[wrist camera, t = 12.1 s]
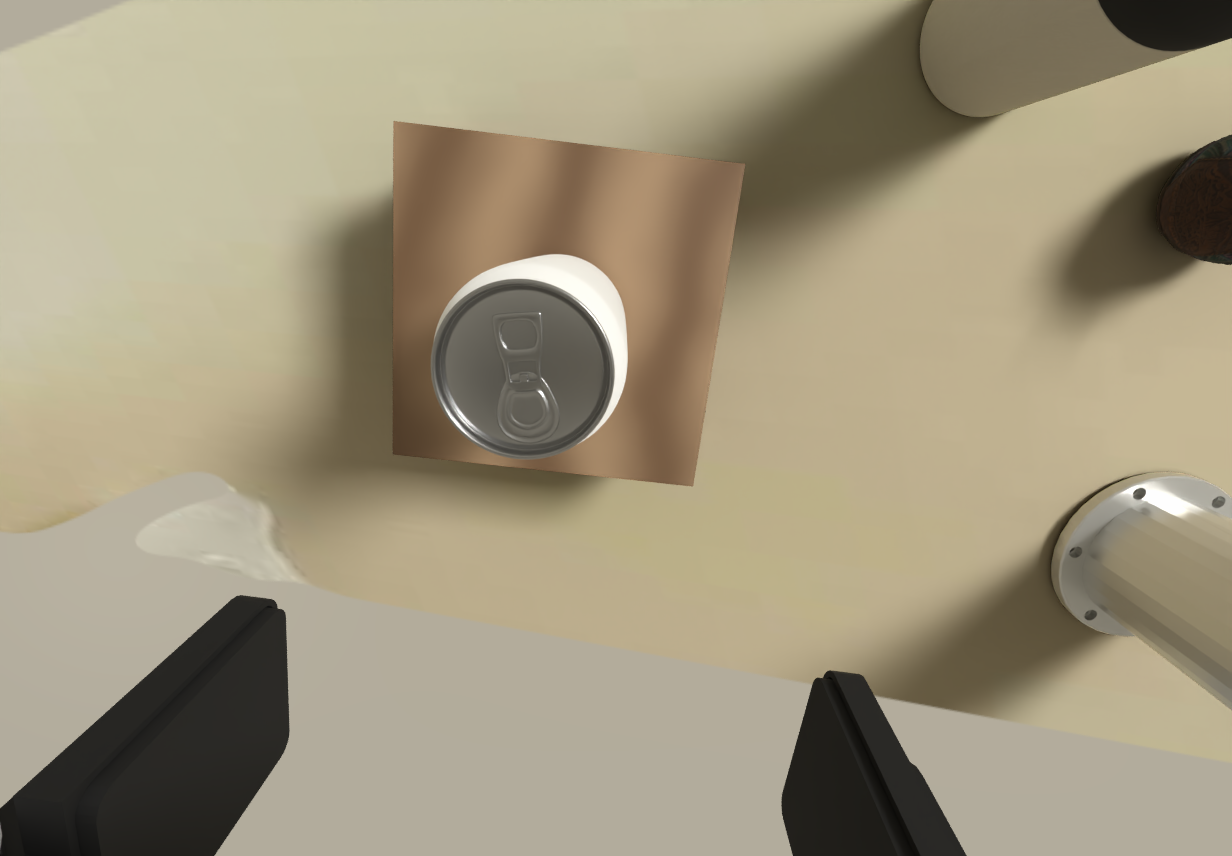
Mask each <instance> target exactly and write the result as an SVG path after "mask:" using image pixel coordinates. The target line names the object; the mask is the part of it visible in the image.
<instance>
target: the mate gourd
mask: <svg viewBox="0 0 1232 856" xmlns="http://www.w3.org/2000/svg"><path fill="white" fill-rule="evenodd" d="M1156 221H1157V224H1158V228H1159V231H1160V233H1161V234H1162V235H1163V236H1164V237H1165V238H1166V239H1167V241H1168V242H1169V243H1170V244H1171V245H1172V246H1173V248H1175V249H1176V250H1178V251H1180V252H1182V253H1185V254H1188V255H1190V256H1192V257H1194V258H1196V259H1199V260H1203V261H1208V262H1212V263H1218V264H1226V265H1229V264H1230V265H1231V264H1232V135H1229V136H1227V137H1224V138H1221V139H1219V140H1217V141H1213V142H1211V143H1209V144H1208V145H1206V146H1204V147H1202V148H1200V149H1198V150H1197V151H1196V152H1194V153H1192V154H1191V155H1190V156H1189V157H1188V158H1187V159H1185V160H1184V161H1183V162H1182V163H1181V164H1180V165H1179V166H1178V168H1176V170H1175V171H1174V172H1173V174H1172V175H1171V177H1170V178H1169V180H1168V181H1167V183H1166V184H1165V186H1164V187H1163V189H1162V191H1161V193H1160V196H1159V200H1158V203H1157V210H1156Z"/></svg>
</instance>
